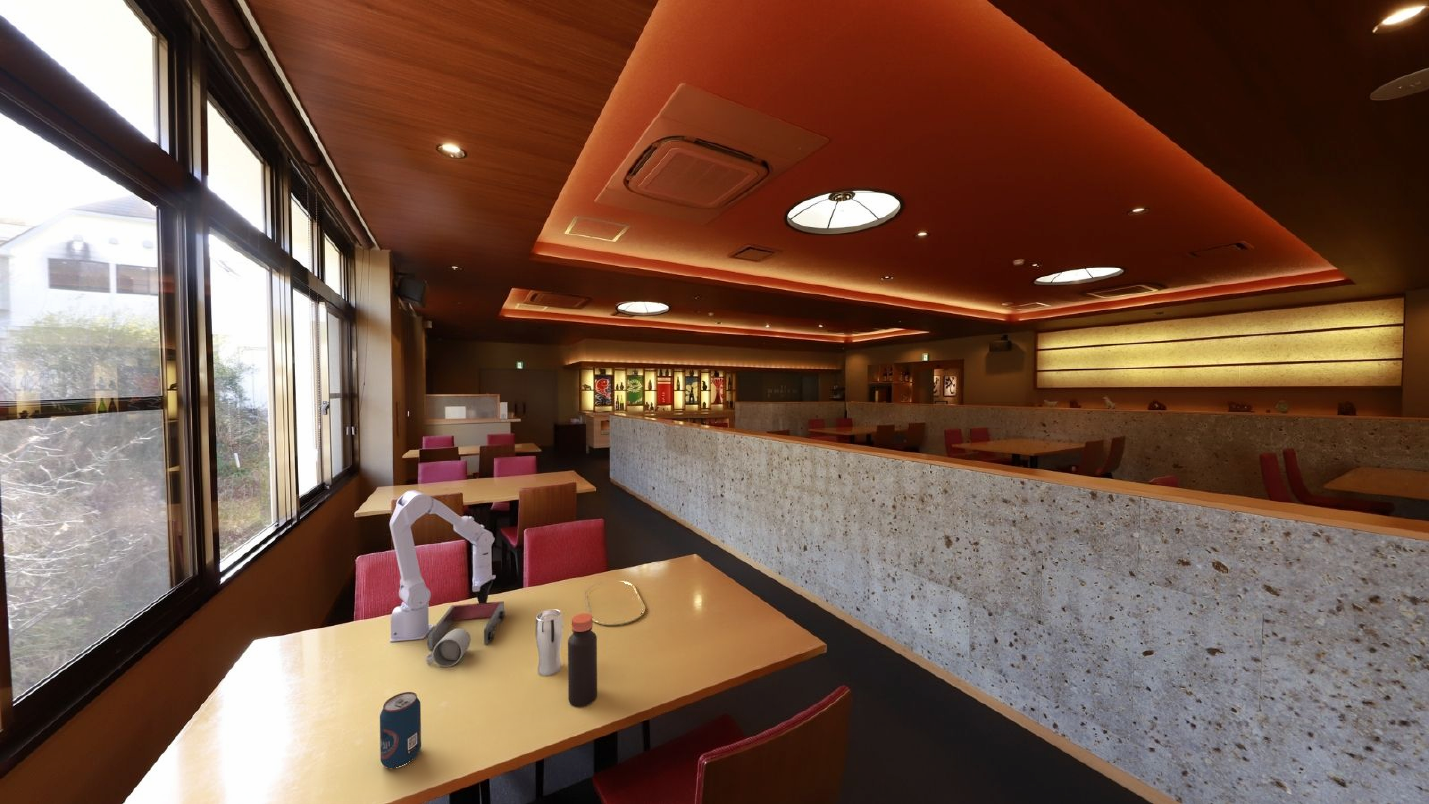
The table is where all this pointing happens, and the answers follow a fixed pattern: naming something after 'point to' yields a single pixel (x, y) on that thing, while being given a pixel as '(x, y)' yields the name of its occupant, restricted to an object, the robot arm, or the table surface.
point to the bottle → (582, 662)
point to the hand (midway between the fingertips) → (482, 603)
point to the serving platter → (616, 581)
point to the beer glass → (549, 641)
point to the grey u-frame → (469, 612)
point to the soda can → (400, 729)
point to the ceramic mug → (450, 648)
